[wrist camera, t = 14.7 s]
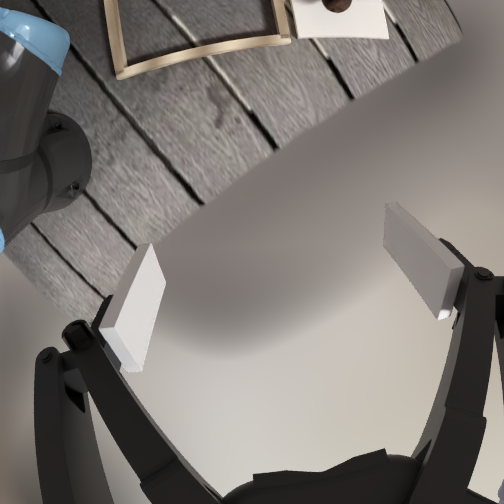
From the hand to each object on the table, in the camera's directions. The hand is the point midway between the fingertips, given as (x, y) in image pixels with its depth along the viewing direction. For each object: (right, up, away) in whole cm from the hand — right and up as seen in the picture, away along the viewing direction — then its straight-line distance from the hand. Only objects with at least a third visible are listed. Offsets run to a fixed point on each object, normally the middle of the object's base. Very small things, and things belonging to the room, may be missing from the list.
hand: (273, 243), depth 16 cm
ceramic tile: (+10, +35, +11) cm, 38 cm away
